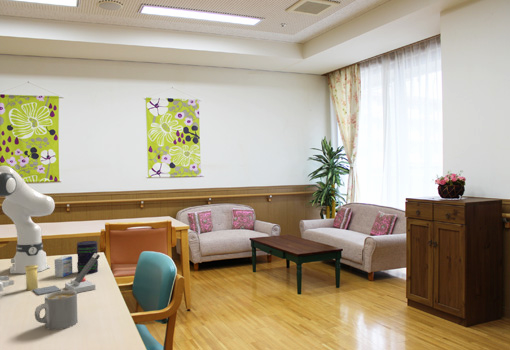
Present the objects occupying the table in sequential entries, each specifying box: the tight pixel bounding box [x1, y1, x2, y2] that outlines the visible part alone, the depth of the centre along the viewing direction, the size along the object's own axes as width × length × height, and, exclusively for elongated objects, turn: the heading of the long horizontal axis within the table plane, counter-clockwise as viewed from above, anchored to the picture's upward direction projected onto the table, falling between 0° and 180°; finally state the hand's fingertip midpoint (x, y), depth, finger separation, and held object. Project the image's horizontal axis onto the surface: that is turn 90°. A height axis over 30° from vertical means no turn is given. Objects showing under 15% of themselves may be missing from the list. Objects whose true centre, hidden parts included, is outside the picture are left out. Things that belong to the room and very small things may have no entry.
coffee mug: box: [34, 290, 79, 330], centre depth 147 cm, size 13×10×10 cm
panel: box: [64, 277, 96, 294], centre depth 191 cm, size 12×9×3 cm
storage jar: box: [76, 240, 99, 275], centre depth 221 cm, size 10×10×15 cm
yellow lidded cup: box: [25, 265, 39, 291], centre depth 192 cm, size 5×5×10 cm
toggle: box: [72, 253, 101, 286], centre depth 192 cm, size 5×2×15 cm
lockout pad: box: [32, 285, 62, 296], centre depth 188 cm, size 9×9×1 cm
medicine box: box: [54, 255, 73, 278], centre depth 216 cm, size 8×4×9 cm, turn 168°
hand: (11, 280), depth 187 cm, fingers open, 8 cm apart
